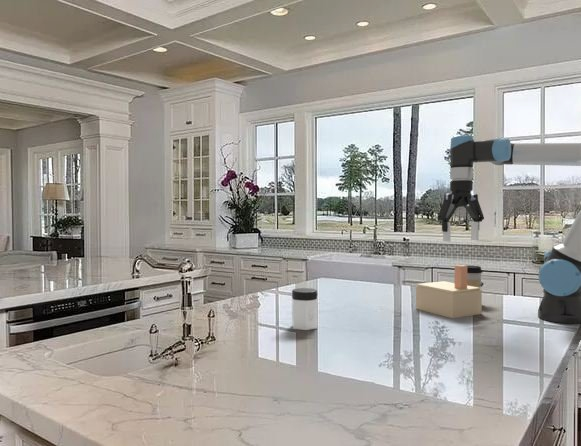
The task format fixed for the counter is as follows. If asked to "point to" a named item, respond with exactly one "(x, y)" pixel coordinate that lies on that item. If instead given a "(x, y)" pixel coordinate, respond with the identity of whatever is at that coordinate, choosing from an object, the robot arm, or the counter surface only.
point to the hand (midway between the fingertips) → (460, 240)
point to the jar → (304, 309)
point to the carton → (449, 302)
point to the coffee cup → (474, 275)
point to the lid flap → (450, 287)
